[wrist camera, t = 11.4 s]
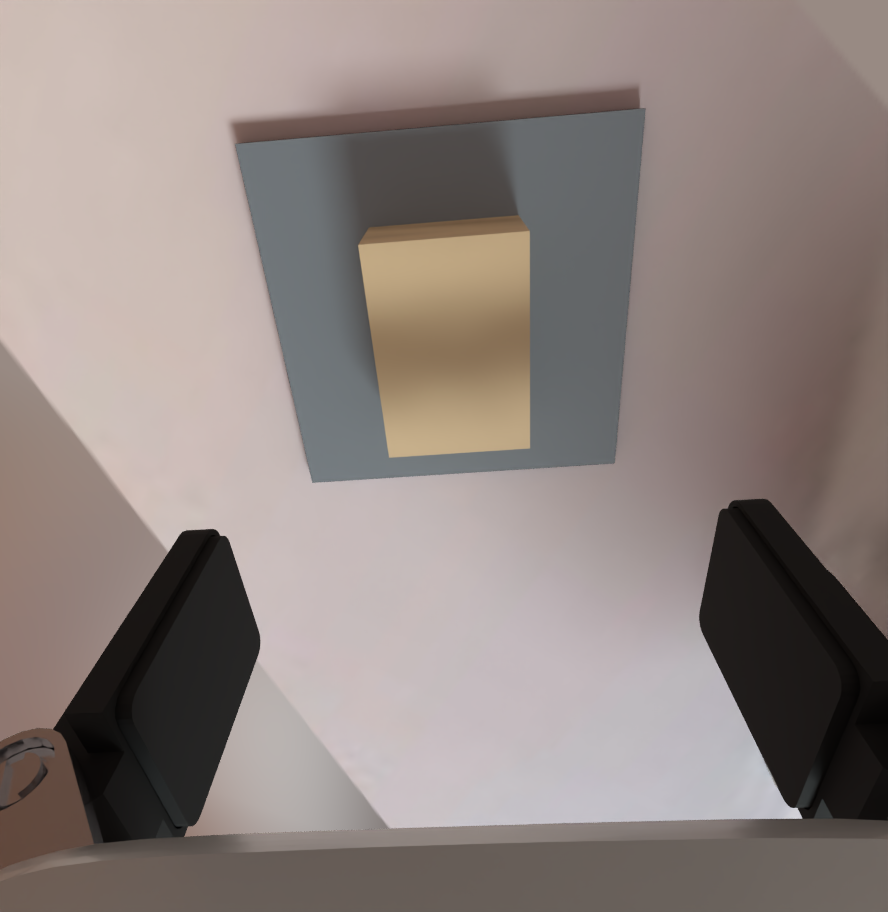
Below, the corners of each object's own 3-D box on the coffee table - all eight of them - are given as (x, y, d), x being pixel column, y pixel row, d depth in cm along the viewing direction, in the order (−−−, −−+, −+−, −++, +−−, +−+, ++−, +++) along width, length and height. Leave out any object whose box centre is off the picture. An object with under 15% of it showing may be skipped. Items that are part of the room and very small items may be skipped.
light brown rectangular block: (520, 411, 25) (529, 448, 23) (394, 420, 26) (389, 457, 23) (518, 215, 21) (529, 230, 19) (369, 227, 21) (358, 244, 19)
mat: (640, 108, 20) (645, 108, 20) (611, 456, 27) (614, 463, 27) (240, 143, 21) (234, 143, 20) (314, 475, 28) (312, 482, 27)
